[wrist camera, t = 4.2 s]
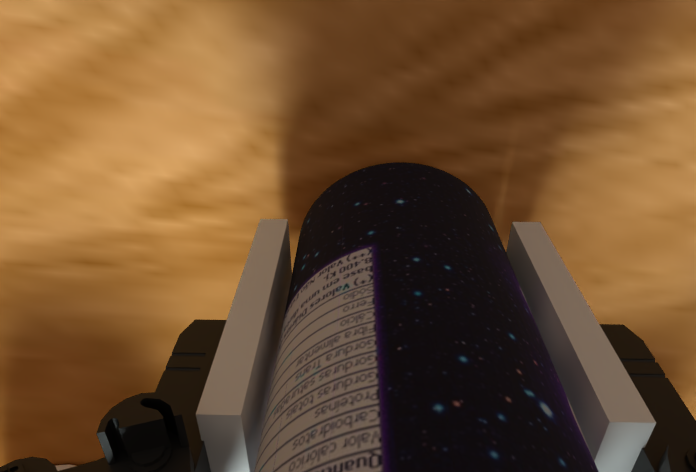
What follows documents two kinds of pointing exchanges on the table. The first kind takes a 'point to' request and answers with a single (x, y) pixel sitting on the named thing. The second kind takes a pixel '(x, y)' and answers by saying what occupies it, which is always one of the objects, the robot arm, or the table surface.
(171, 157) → the table surface
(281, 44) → the table surface
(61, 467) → the white cup
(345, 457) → the beverage can
